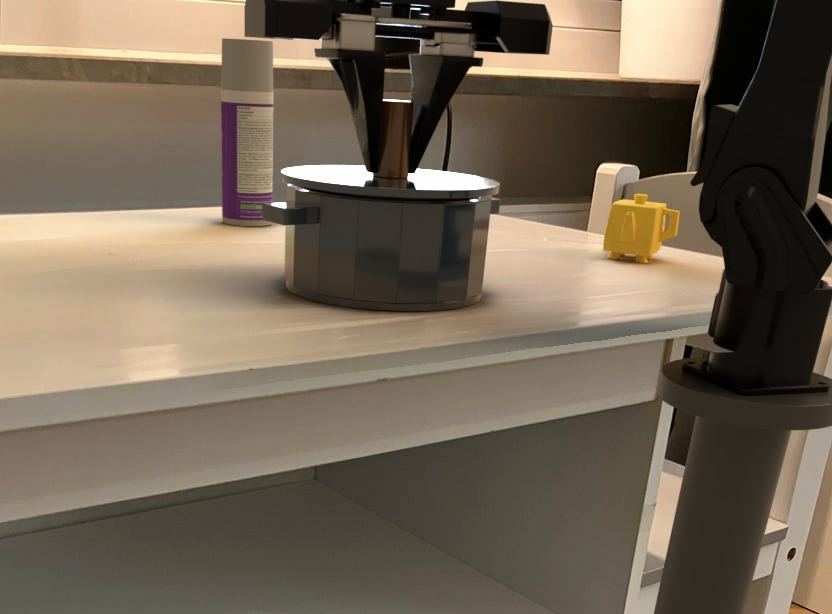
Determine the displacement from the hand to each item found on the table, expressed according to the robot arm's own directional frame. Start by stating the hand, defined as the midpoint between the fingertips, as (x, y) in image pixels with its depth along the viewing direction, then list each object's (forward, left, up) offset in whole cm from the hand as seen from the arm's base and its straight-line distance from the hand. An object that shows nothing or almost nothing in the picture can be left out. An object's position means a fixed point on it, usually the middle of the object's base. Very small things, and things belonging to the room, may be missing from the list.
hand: (390, 172), depth 70 cm
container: (+32, +2, -8) cm, 33 cm away
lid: (0, 0, -1) cm, 1 cm away
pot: (0, 0, -8) cm, 8 cm away
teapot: (+12, -28, -8) cm, 31 cm away
